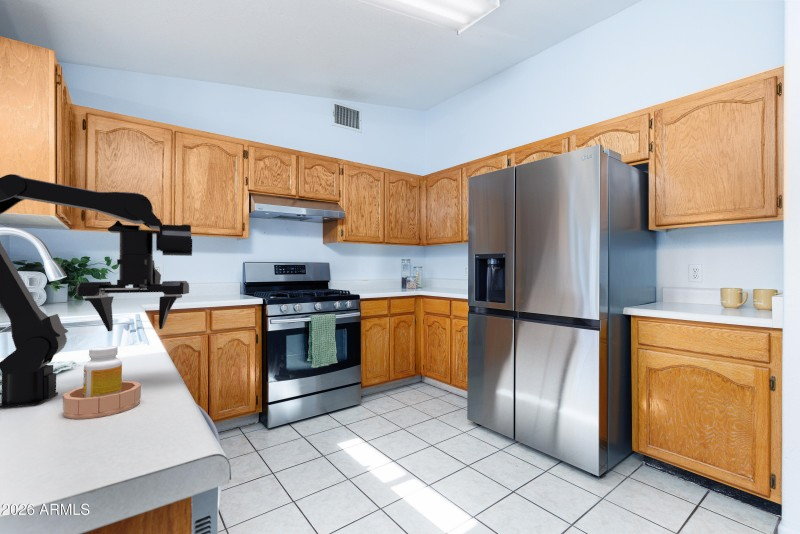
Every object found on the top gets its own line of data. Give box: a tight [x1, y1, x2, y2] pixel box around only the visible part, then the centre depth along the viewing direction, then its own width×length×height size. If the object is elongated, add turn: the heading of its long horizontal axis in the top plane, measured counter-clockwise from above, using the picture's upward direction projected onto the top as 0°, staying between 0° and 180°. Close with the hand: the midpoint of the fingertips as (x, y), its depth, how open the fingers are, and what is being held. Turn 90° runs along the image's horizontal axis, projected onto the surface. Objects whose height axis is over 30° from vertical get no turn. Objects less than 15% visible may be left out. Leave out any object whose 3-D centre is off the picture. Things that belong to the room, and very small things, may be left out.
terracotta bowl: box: [62, 380, 142, 420], centre depth 68 cm, size 11×11×3 cm
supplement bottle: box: [82, 345, 123, 398], centre depth 68 cm, size 5×5×10 cm
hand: (136, 330), depth 80 cm, fingers open, 9 cm apart
